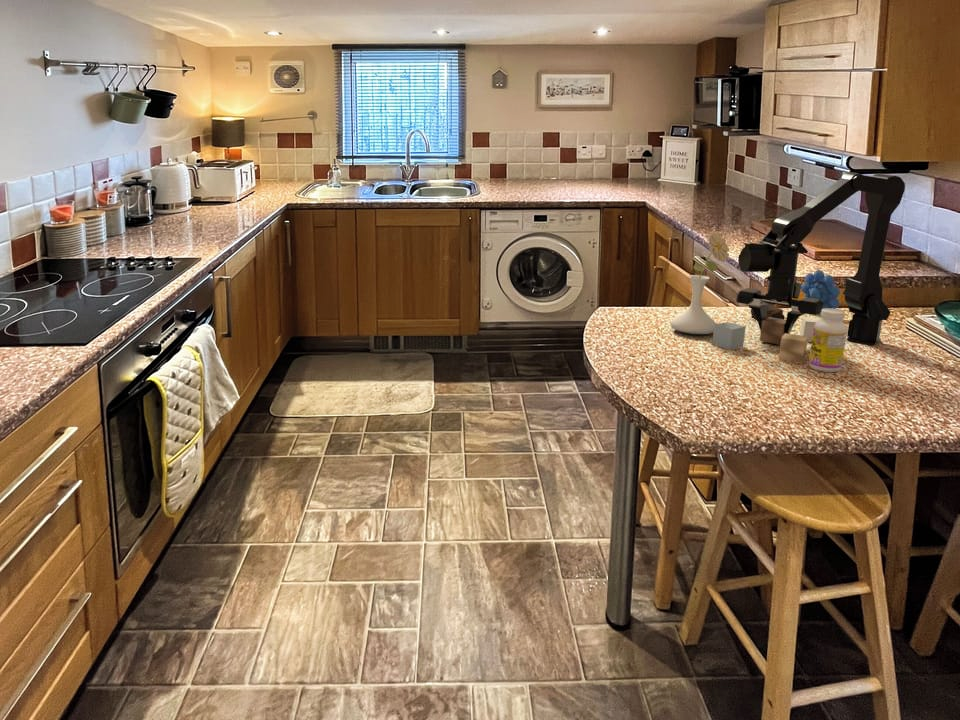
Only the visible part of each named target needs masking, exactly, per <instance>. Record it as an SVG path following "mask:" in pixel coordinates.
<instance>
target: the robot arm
mask: <svg viewBox="0 0 960 720" xmlns="http://www.w3.org/2000/svg"><path fill="white" fill-rule="evenodd" d="M905 190H906V183H905V181H904V180H903V178H902V177H901V176H898V175H892V174H885V173H874V174H873V175H872V176H871V175H865V174H862V173H858V172H851V171H849V172H846V173H843V175H842V176H841V178H839V179H838V180H837V181H835V182H834V183H832V184H831V185H830V186H829V187H828V188H826V189H825V190H824V191H822V192H821V193H820V194H818V195H816V197H814V198H813V199H811V200H810V201H808V203H806V204H805V205H804V206H802V207H799V208H798V209H795V210H790V211H789V212H786V213H785V214H782V215H781V216H779V217H778V218H776V219H775V220H774V221H773V222H772V223H771V225H772V226H771V228H770V229H769V231H768V232H767V233H766V234H765V236H763V237H762V239H761V240H760V242H752V241H746V242H744V247H743V248H742V249H741V250H740V252H739V254H738V261H737V263H738V266H739V269H740V271H741V272H742V273H761V272H762V273H767V272H769V275H768V276H767V281H768V285H767V286H768V287H767V292H766V293H765V294H762V292H761V290H760V289H755V288H749V287H747V288H744V289H741V290H739V291H738V292H737V293H736V301H735V302H736V303H737V304H745V305H748V308H749V309H751V308H752V309H753V311H754V314H755V316H756V318H757V323H758V328H759V330H760V332H761V326H762V320H764V319H766V317H767V309H768V306H769V304H771V305H774V306H777V305H778V306H782V307H787V308H790V309H791V310H790V311H788V312H787V313H786V317H785V320H786V324H785V330H784V334H785V333H786V334H791V331H792V329H793V327H794V325H795V323H796V322H797V320H798V319H799V318H800V317H803V316H804V315H811V316H816V315H819V314H818V313H820V312H821V310H822V307H823V303H822V301H821V300H820V299H813V298H807V297H806V298H804V297H803V298H802V299H800V298H799V297H800V295H801V294H800V293H801V291H802V289H801V286H802V285H800V284H799V283H798V282H797V266H798V260H799V254H808V253H809V251H808V249H806V248H805V246H804V245H803V243H802V241H804V240H805V239H806V237H808V236H809V235H810V233H812V232H813V229H814V227H815V225H816V224H817V223H818V222H819V221H820V220H822V219H823V218H824V217H826V216H827V215H828V214H829V213H830V212H832V211H833V210H835V209H836V208H837V207H839V206H840V205H842V204H843V203H844V202H845V201H847V200H848V199H850V198H851V197H852V196H853V195H855V194H856V193H857V192H859V191H860V192H864V193H865V194H864V201H865V204H866V207H867V208H866V209H867V211H868V213H867V218H866V219H867V220H866V225H865V231H864V234H863V235H864V236H863V240H862V245H861V246H862V247H861V250H860V257H859V262H858V266H857V271H856V273H855V274H854V275H853V277H852V278H848V277H847V278H846V280H845V287H844V291H843V292H842V295H844V301H845V303H846V304H847V308H848V312H849V313H851V314H852V317H851V318H852V319H849V322H848V326H847V335H846V341H849V342H855V343H856V342H857V343H861V344H867V345H872V346H875V345H876V344H878V343H879V342H881V340H882V338H881V337H880V336H881V332H882V325H883V321H887V320H888V319H889V318H890V317H889V316H890V315H891V310H890V309H889V307H887V305H886V304H885V303H884V301H883V296H884V295H883V293H884V292H883V291H884V288H883V283H882V280H881V277H880V273H881V267H882V263H883V257H884V253H885V248H886V242H887V238H888V232H889V227H890V223H891V218H892V214H893V213H894V212H895V210H896V209H897V208H898V207H899V206H900V204H901V203H902V202H901V201H902V199H903V197H904V196H903V195H904V193H905ZM766 303H769V304H766ZM820 314H821V313H820Z"/></svg>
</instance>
